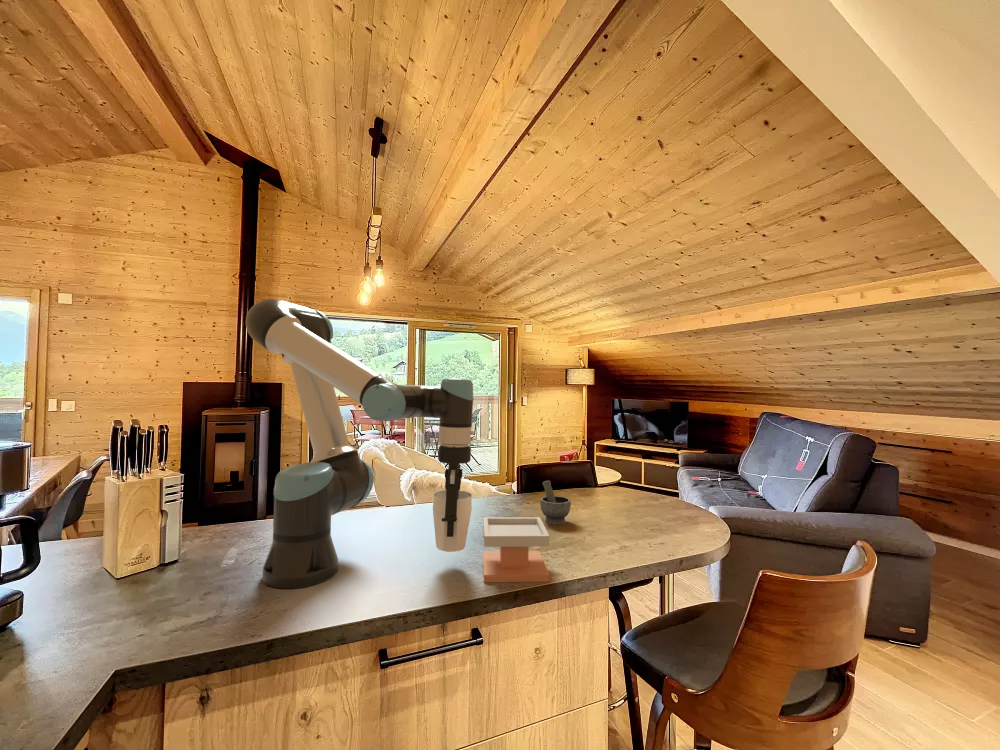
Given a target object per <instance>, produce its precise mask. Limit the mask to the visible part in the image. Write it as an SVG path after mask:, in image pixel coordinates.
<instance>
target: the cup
mask: <svg viewBox="0 0 1000 750" xmlns="http://www.w3.org/2000/svg"><path fill="white" fill-rule="evenodd" d="M472 497H473V496H472V493H470V492H468V491H466V490H465V491H464V490H459V496H458V499H457V534H456V551H445V552H449V553H450V552H451V553H452V552H459V551H462V550H464V549H465V547H466V544H467V537H468V532H469V531H468V530H469V526H470V522H471V516H472V510H473V505H472V504H473V502H472V501H473V500H472ZM432 504H433V505H432V511H433V512H432V514H433V515H432V516H433V527H434V536H435V537H434V538H435V545H436V546H435V547H436V548H437V549H438V550H440V551H442V552H444V551H443V548H444V525H445V521H442V518H444V517H445V505H446V489H444V490H439V491H436V492H435V493H434V494H433V501H432Z"/></svg>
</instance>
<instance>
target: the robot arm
mask: <svg viewBox="0 0 1000 750" xmlns="http://www.w3.org/2000/svg"><path fill="white" fill-rule="evenodd" d="M245 327H246V331H247V333H248V335H249V336H250V338H251V339H252V340H253V342H255V343H257V344H258V345H260V346H261V347H262V348H264V349H265V350H268V351H269V352H271V354H276V355H277V354H278V355H281V357H282V361H283V362H285V363H286V364H288V365H290V367H291V370H292V375H293V377H294V378H293V379H294V383H295V385H296V390H297V393H298V397H299V402H300V405H301V408H302V414H303V417H304V420H305V423H306V429H307V432H308V435H309V440H310V443H311V447H312V450H313V454H314V455H313V457H312V459H311V460H310V462H303V463H297V464H293V465H289V466H287V467H285V468H284V469H282V470H280V471H279V472H278V473H277V474H276V476H275V479H274V487H273V514H272V515H273V517H272V518H273V523H272V528H273V529H272V531H273V532H272V543H271V545H270V548H269V551H268V554H267V557H266V559H265V562H264V565H263V567H262V579H261V580H262V582H263V584H264V585H266V586H268V587H271V588H276V589H299V588H304V587H309V586H314V585H316V584H319V583H322V582H325V581H327V580H329V579H331V578H332V577H333V576H335V575H336V574H337V572H338V571H339V557H338V555H337V554H338V553H337V551H336V548H335V545H334V542H333V538H332V536H331V532H332V531H331V530H332V516H334V515H336V514H339V513H341V512H343V511H345V510H348V509H351V508H354V507H357V505H359V504H360V503H362V502H364V500H366V499H367V498H368V497H369V495H370V494H371V491H372V489H373V486H374V473H373V470H372V467H371V466H370V465H369V463H368V462H365V461H364V460H363V459H362V458H360V455H359V452H358V451H359V450H358V449H357V448H355V447H354V446H352V445H351V444H350V442H349V438H348V435H347V431H346V427H345V424H344V420H343V416H342V411H341V408H340V404H339V402H338V401H339V400H338V397H337V395H336V391H335V389H336V390H338V391H339V392H341V393H343V394H344V395H346V396H347V397H349V398H350V399H352V400H353V401H355V402H357V403H359V404H360V405H362V408H363V410H364V412H365V414H366V416H367V417H369V419H372V420H374V421H380V422H381V421H382V422H391V421H395V420H397V421H398V420H403V419H411V418H433V419H439V425H438V443H439V444H440V445H439V446H438V453H437V454H438V455H437V460H438V462H440V463H441V464H442V463H443V464H448V468H445V470H444V478H445V483H444V488H445V489H444V490H446V505H445V517H444V518H442V521H445V525H444V548H443V551H442V552H446V551H455V552H457V551H456V534H457V499H458V496H459V491H461V486H462V479H463V469H462V468H461V464H468V463H470V461H471V460H472V459H471V456H472V447H471V446H470V444H471V443H472V436H474V435H475V431H474V430H472V428H473V427H472V426H473V424H472V423H473V407H474V398H475V397H474V383H473V381H472V380H470V379H469V378H449V377H448V378H447V377H445V378H443V379H442V380H441V381H440V385H437V386H431V385H430V386H429V385H416V384H397V383H395V382H393V381H391V380H390V379H388V378H387V377H384V376H383V375H382V374H380V373H378V372H377V371H375V370H374V369H372V368H371V367H368V365H365V364H364V363H362V362H360V361H359V360H358V359H356V358H355V357H354V356H353V357H352V356H351V355H349V354H348V353H346V352H344V351H343V350H342V349H339V348H338V347H336V346H335V345H333V344H332V339H333V336H334V330H333V329H334V328H333V324H332V323H331V321H330V319H329V318H328V316H327V315H326V314H325V313H323V312H322V311H320V310H318V309H315V308H313V307H311V306H304V305H300V304H296V303H294V302H293V303H292V302H289V301H286V300H283V299H279V298H266V299H263V300H260V301H258V302H256V303H255V304H254V305H252V306H251V308H249V310H248V311H247V314H246V316H245Z"/></svg>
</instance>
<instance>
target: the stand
mask: <svg viewBox="0 0 1000 750" xmlns="http://www.w3.org/2000/svg"><path fill="white" fill-rule="evenodd" d="M482 519H483V522H482V524H483V525H482V528H483V543H484V547H485V548H486V547H490V548H492V547H493V548H494V547H496V548H498V547H500V548H499V550H484V551H483V550H482V569H483V571H482V573H483V583H530V582H531V583H538V582H540V583H548V582H550V573H549V571H548V568H547V566H546V563H545V561H544V559H543V556H542V553H541V552H540V550H530V549H529V547H550V534H549V532H548V531H547V528H546V527H545V525H544V523H543V521H542V519H541V517H538V516H533V517H532V516H528V517H525V516H524V517H521V516H519V517H518V516H517V517H511V516H510V517H508V516H507V517H506V516H505V517H503V516H502V517H499V516H497V517H496V516H495V517H494V516H493V517H492V516H491V517H489V516H487V517H486V516H485V517H482Z"/></svg>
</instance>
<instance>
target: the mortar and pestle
mask: <svg viewBox="0 0 1000 750" xmlns="http://www.w3.org/2000/svg"><path fill="white" fill-rule="evenodd" d="M542 486H543V488H544V492H545V496H542V497H540V501H539V502H540V503H539V504H540V511H541V512H542V514H543V515H544V516H545V523H547V524H550V525H555V526H556V525H563V523H564V524H566V522H565V521H566V517H567V516H568V515H569V513H570V511H571V508H572V507H571V504H572V503H571V501H572V500H571V498H568V497H565V496H561V495H560V496H559V495H555V494H554V491H553V487H552V483H551V480H545V481H543V482H542Z"/></svg>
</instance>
